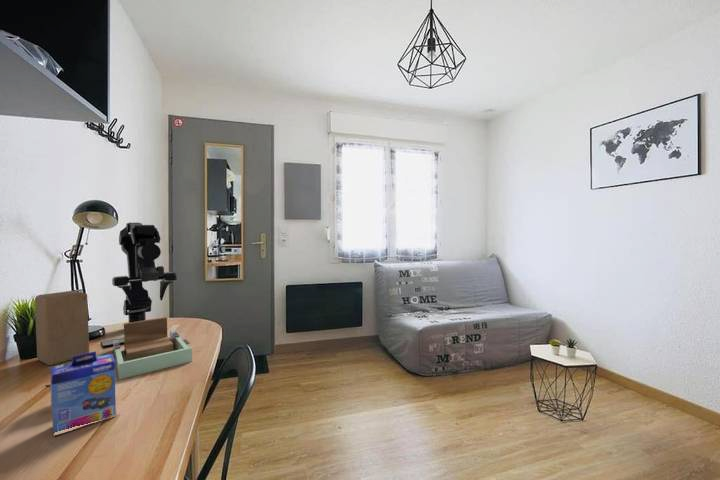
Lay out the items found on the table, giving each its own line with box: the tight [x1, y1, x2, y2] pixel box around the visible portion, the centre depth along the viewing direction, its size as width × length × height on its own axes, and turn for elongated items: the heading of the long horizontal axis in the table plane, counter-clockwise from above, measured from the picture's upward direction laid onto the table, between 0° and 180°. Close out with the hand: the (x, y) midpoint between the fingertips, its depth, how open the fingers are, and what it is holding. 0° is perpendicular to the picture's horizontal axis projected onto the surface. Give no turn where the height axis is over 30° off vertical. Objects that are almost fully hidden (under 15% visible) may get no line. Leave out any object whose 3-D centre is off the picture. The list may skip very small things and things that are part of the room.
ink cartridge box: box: [50, 351, 117, 434], centre depth 65 cm, size 10×6×14 cm, turn 135°
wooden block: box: [34, 290, 90, 366], centre depth 99 cm, size 10×10×20 cm
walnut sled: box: [123, 316, 174, 361], centre depth 104 cm, size 12×12×9 cm
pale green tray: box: [111, 329, 193, 380], centre depth 100 cm, size 28×23×4 cm
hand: (146, 302), depth 115 cm, fingers open, 9 cm apart
